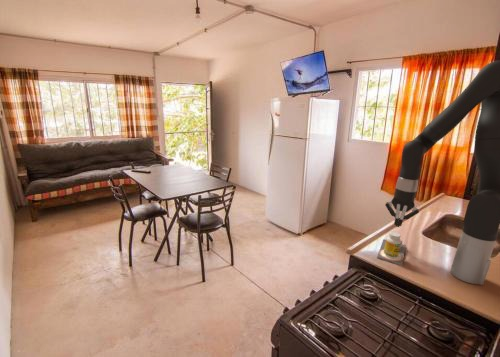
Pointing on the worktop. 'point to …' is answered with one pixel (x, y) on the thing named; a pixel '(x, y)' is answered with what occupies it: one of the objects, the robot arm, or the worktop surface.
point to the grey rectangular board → (393, 260)
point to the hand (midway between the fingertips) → (397, 226)
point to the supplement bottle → (392, 245)
